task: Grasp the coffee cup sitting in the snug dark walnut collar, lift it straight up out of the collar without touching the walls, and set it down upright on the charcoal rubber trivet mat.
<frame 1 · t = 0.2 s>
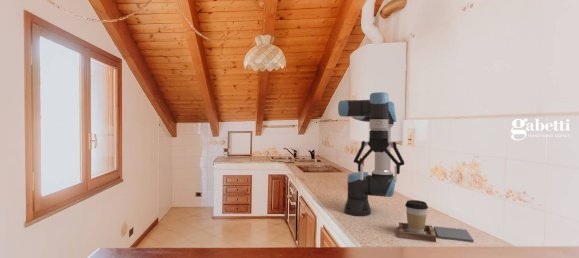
hand: (378, 180, 125), 28 cm above the counter, fingers open, 13 cm apart
walnut collar: (416, 234, 141), on the counter
coffee cup: (416, 234, 141), resting in walnut collar
trivet mat: (452, 234, 140), on the counter
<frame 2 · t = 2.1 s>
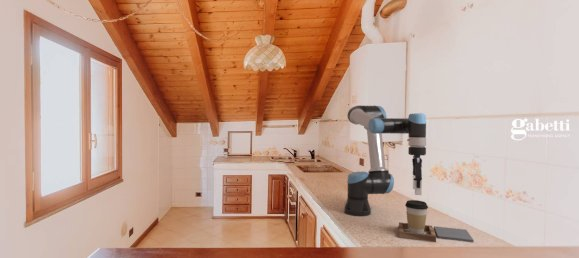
hand: (416, 192, 140), 20 cm above the counter, fingers open, 13 cm apart
nothing on the counter moved.
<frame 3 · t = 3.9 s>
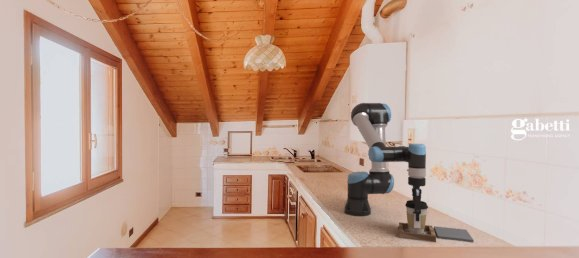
hand: (416, 224, 141), 5 cm above the counter, fingers closed on coffee cup, 10 cm apart
coffee cup: (416, 234, 141), resting in walnut collar, touching gripper
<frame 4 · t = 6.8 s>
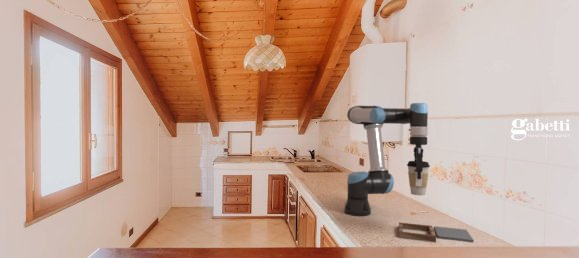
hand: (418, 183, 140), 24 cm above the counter, fingers closed on coffee cup, 10 cm apart
coffee cup: (417, 194, 140), point 19 cm above the counter, touching gripper
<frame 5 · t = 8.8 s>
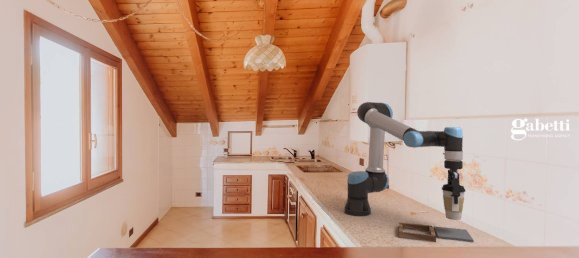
hand: (453, 208, 140), 13 cm above the counter, fingers closed on coffee cup, 10 cm apart
coffee cup: (453, 218, 140), point 8 cm above the counter, touching gripper
when the fingers open (7 cm above the counter, at t = 10.2 s): coffee cup drops 1 cm, resting on trivet mat.
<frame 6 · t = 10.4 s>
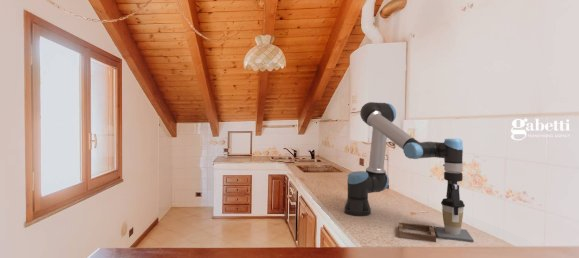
hand: (452, 217, 140), 8 cm above the counter, fingers open, 12 cm apart
coffee cup: (452, 232, 140), point 1 cm above the counter, touching trivet mat
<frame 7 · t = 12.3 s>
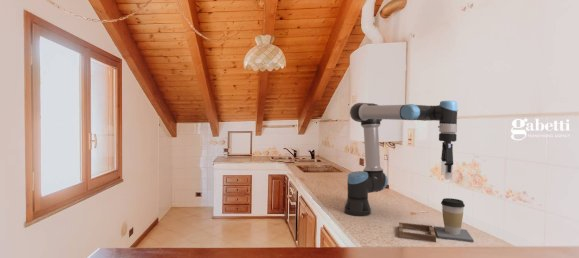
hand: (446, 176, 145), 26 cm above the counter, fingers open, 13 cm apart
nothing on the counter moved.
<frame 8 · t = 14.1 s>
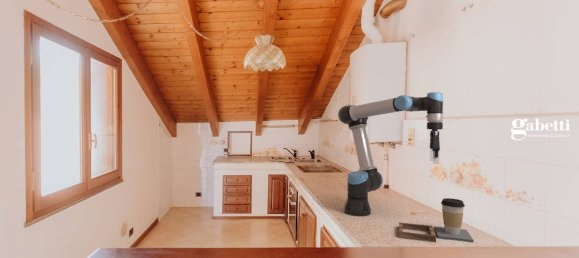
hand: (434, 162, 158), 32 cm above the counter, fingers open, 13 cm apart
nothing on the counter moved.
at the end: coffee cup 0.4 cm from the trivet mat (horizontally); coffee cup touching trivet mat; coffee cup tilted 0° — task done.
